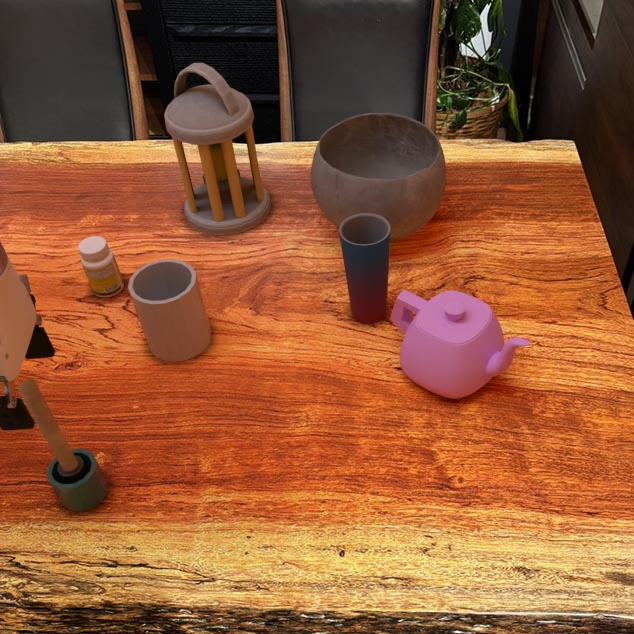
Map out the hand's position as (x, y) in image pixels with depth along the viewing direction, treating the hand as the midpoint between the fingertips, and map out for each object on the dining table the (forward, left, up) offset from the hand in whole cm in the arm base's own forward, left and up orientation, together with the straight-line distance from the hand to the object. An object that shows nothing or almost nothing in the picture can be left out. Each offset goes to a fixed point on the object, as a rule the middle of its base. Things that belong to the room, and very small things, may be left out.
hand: (30, 390), depth 83 cm
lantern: (+14, +55, -19) cm, 60 cm away
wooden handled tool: (0, 0, -19) cm, 19 cm away
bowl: (+39, +48, -19) cm, 65 cm away
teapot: (+47, +16, -19) cm, 53 cm away
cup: (+36, +28, -19) cm, 49 cm away
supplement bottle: (-3, +37, -19) cm, 42 cm away
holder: (0, 0, -19) cm, 19 cm away
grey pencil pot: (+9, +25, -19) cm, 33 cm away
